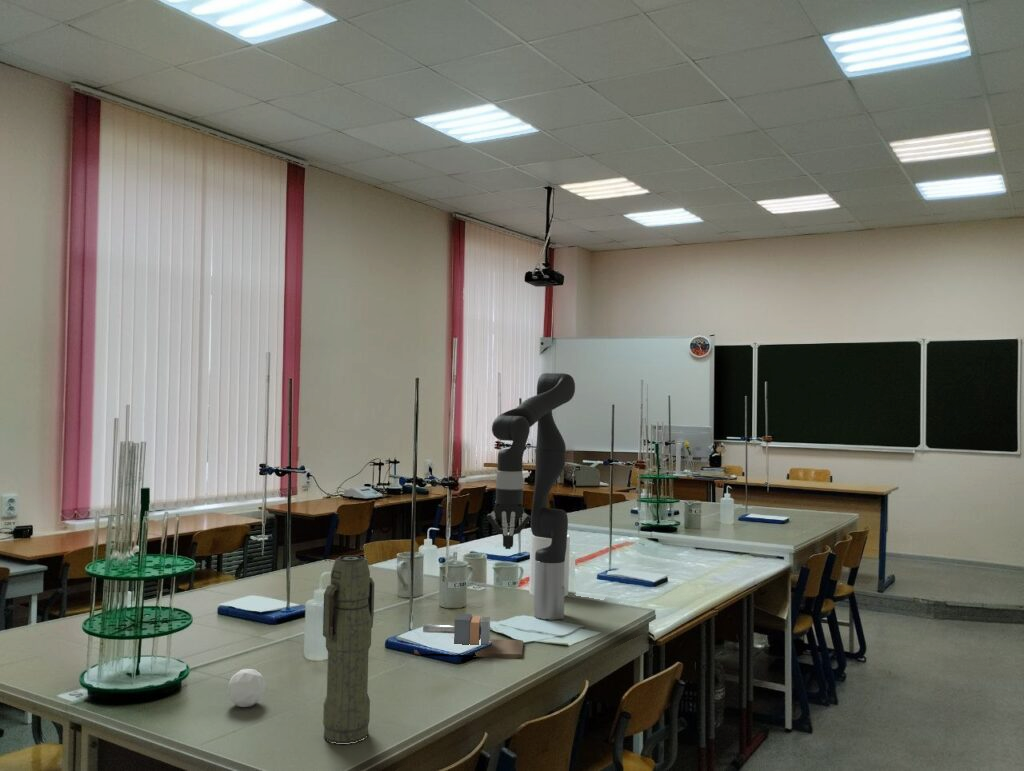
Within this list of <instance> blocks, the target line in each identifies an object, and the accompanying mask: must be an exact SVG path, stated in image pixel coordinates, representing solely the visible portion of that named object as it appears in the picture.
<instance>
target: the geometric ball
mask: <svg viewBox="0 0 1024 771" xmlns="http://www.w3.org/2000/svg"><path fill="white" fill-rule="evenodd" d="M265 689H266V680H265V679H264V677H263V675H262V674H261V673H260V672H258V671H257V670H256V669H254V668H242V669H241V670H239V671H237V672H236V673H234V674H233V675H232V676H231V679H230V681H229V683H228V686H227V696H228V697H229V700H230V701H231V702H232V704H234V705H236V706H237V707H239V708H240V707H241V708H248V707H249V708H250V707H252V706H254V705H255V704H257V703H258V702H259V701H261V700H262V698H263V695H264V693H265Z"/></svg>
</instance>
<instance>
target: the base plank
mask: <svg viewBox="0 0 1024 771" xmlns="http://www.w3.org/2000/svg"><path fill="white" fill-rule="evenodd" d="M489 641H491V642H492V645H491V646H488V647H486V648H484V649H481V650H480V651H477V652H475V655H476V656H475V657H477V658H480V657H481V658H503V659H505V658H506V659H507V658H508V659H522V658H523V648H524V640H523V639H522V640H519V639H516V640H515V639H499V638H498V639H495V638H494V639H493V638H492V639H491V638H490V640H489ZM413 652H414V653H413V654H414V655H420V654H419V652H418V651H417V650H415V649H414V651H413Z"/></svg>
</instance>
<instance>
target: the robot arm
mask: <svg viewBox="0 0 1024 771" xmlns="http://www.w3.org/2000/svg"><path fill="white" fill-rule="evenodd" d="M536 383H537V384H536V395H534V396H531V397H529V398H527V399H525V400H523V402H521V403H520V404H519V405H518V406H516V407H515V408H512V409H509V410H507V411H505V412H502V413H500V414H499V415H497V416H496V418H495V419H494V420H493V421H492V424H491V433H492V435H493V437H494V438H496V439H497V440H499V441H506V442H507V441H509V442H510V441H511V442H512V443H511V446H509V448H504V449H501V450H499V451H498V454H497V472H496V479H495V480H496V481H495V482H496V483H495V485H496V486H495V506H494V508H493V511H491V513H487V515H486V519H487V521H488V522H489V523H490V524H491V526H492V527H493V529H494V530H495V532H496V533H498V534H501V536H502V546H503V547H504V549H505V550H511V549H512V548H513V546H514V537H515V536H514V535H518V534H520V533H521V532H522V531H523V530H524V528H526V526H527V524H528V523H529V522H530V531H531V534H533V535H534V536H536V537H542V538H551V539H552V542H551V545H550V546H549V547H546V548H542V549H539V550H537V551H536V553H535V590H534V595H533V598H534V600H533V616H534V617H535V618H537V619H540V618H541V620H546V619H548V621H551V620H553V621H554V620H555V621H556V620H561V619H562V620H564V619H565V596H564V590H565V588H564V577H565V554H566V545H567V534H568V528H569V517H568V513H567V512H566V510H564V509H563V508H562V509H561V508H560V509H559V508H551V507H548V506H547V505H548V498H549V494H550V492H551V491H552V488H553V486H554V485H555V484H556V482H557V481H558V479H559V478H560V476H561V475H562V473H563V471H564V469H565V467H566V466H565V465H566V443H565V439H564V438H563V435H562V434H561V432H560V429H558V427H557V424H556V422H555V420H554V417H553V410H555V409H557V408H558V407H560V406H563V405H564V404H566V403H568V402H570V401H571V400H572V399H573V398H574V395H575V393H576V392H575V391H576V383H575V380H574V378H573V376H572V375H571V374H568V373H560V372H559V373H558V372H557V373H556V372H553V373H552V372H551V373H550V372H547V373H546V372H545V373H542V374H540V376H539V377H538V380H537V382H536ZM536 423H537V428H536V429H537V430H536V446H535V475H534V476H535V477H534V489H533V490H534V491H533V496H532V497H533V498H532V507H531V513H530V514H531V515H530V514H528V513H526V512H525V508H524V506H523V499H524V496H523V495H524V492H523V491H524V476H523V474H524V473H523V458H524V452H525V448H526V445H527V442H528V440H529V439H528V438H529V435H530V430H531V429H530V428H531V427H533V426H534V425H535V424H536ZM496 518H497V519H498V520H499V522H500V523H502V524H501V526H502V528H501V526H500V524H498V522H497V521H496ZM520 518H521V521H522V522H520V524H519V525H518V526H517V527H516V528H515V524H516V523H517V522H518V521H519V519H520ZM508 523H509V526H508ZM508 527H509V530H508Z"/></svg>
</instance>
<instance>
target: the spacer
mask: <svg viewBox="0 0 1024 771" xmlns="http://www.w3.org/2000/svg"><path fill="white" fill-rule="evenodd" d="M481 621H482V616H481V615H472V618H471V621H470V645H479V640H480V639H481V634H479V629H480V627H481Z"/></svg>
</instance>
